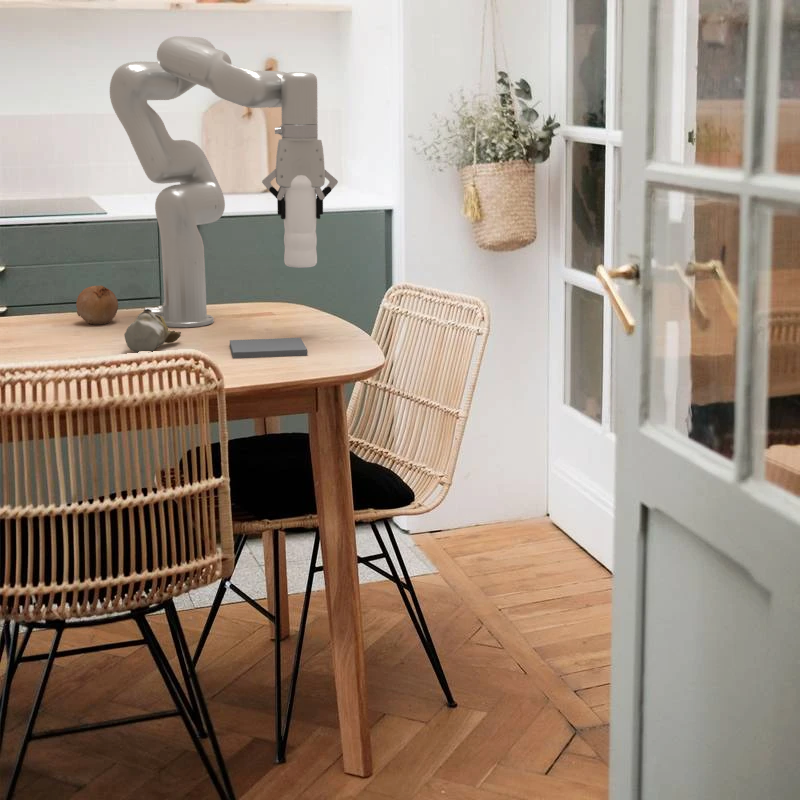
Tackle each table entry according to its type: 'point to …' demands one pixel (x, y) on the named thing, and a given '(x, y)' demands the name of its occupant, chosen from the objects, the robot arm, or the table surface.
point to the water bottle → (300, 224)
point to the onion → (97, 305)
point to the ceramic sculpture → (149, 332)
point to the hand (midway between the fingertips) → (300, 217)
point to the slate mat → (267, 347)
